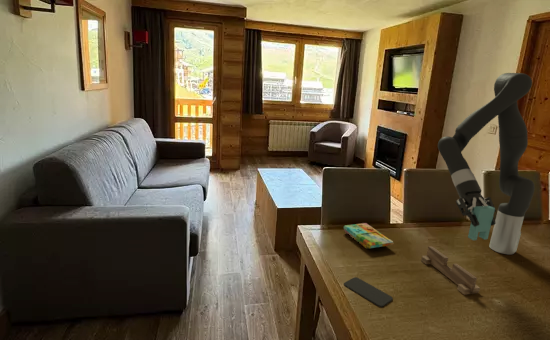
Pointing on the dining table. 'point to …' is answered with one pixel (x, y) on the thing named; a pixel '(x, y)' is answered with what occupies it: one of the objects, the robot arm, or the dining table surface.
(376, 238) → the puzzle game
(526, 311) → the dining table surface
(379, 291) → the phone
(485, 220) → the slotted tab
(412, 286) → the dining table surface
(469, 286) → the slotted rail
